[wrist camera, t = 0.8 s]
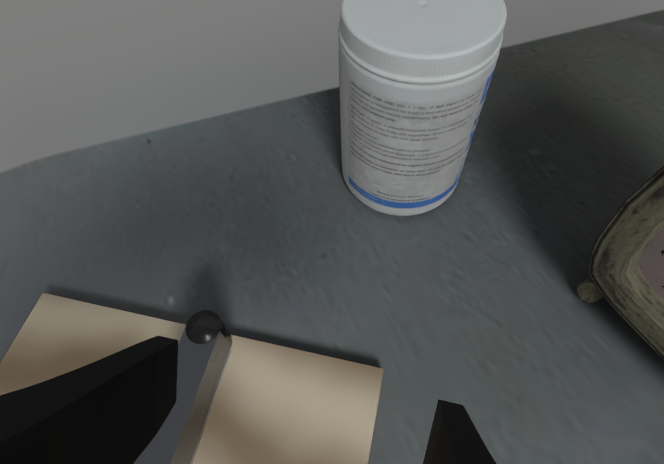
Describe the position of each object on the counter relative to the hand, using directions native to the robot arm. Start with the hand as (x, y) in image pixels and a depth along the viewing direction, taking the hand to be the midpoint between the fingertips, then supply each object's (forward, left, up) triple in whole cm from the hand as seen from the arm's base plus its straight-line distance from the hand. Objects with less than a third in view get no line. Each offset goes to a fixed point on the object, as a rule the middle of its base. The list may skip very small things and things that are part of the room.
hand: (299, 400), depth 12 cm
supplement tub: (+22, -1, -17) cm, 28 cm away
